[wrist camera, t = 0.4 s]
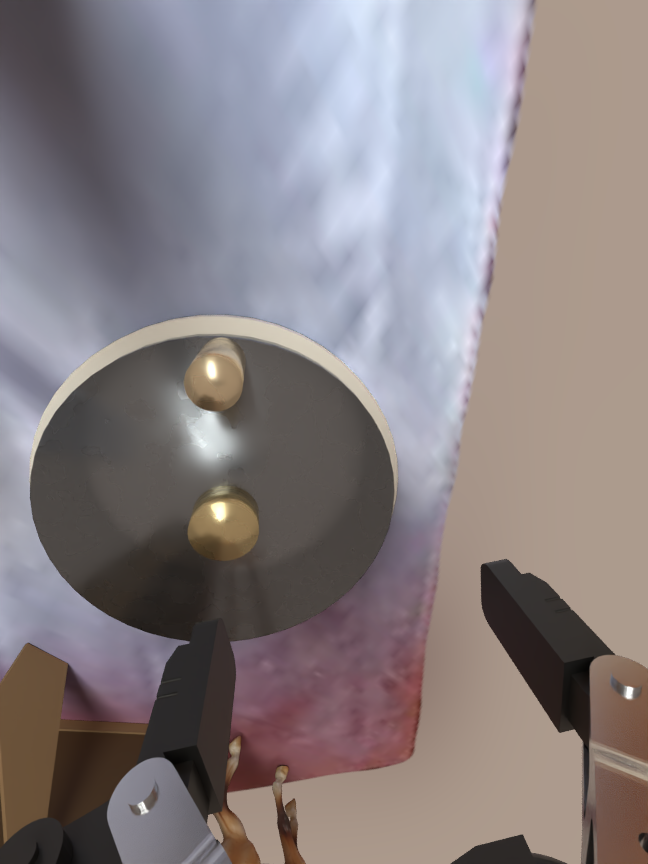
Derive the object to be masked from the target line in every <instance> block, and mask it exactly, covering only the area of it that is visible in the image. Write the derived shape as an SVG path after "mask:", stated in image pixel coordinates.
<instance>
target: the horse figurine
mask: <svg viewBox="0 0 648 864" xmlns="http://www.w3.org/2000/svg"><path fill="white" fill-rule="evenodd" d="M229 750H230V754H231V755H232V756H231V758H229V759H228V761H227V769H226V779H225V789H224V799H223V809H222V812H217V813H213V815H214V816H215V818H216V819H217V821H218V823H219V826H220V829H221V831H222V834H223V837H224V840H223V842H222V843H221V845H222V847H223V848H224V850H225V852H226V853H227V855H228V857H229V859H230V860H231V862H232V864H260V858H259V856H258V854H257V852H256V850H255V847H254V845H253V844H252V843H251V842H250V841H249V840H248V838H247V836H246V833H245V830H244V827H243V825H242V823H241V821H240V820H239V818H238V817H237V816H236V815H235V814H234V813H233V812H232V811H231V810H230V809H229V808H228V805H227V789H228V786H229V783H230V780H231V778H232V776H233V774H234V772H235V770H236V768H237V767H238V762H239V755H240V750H241V736H237V737H236V738H235V739H234V740H233V741H232V742H231V743H230V744H229ZM288 770H289V769H288V767H287V766H279V767H278V768H277V769H276V774H275V778H276V781H275V782H274V783H273V787H272V788H273V793H274V796H275V800H276V807H277V813H278V822H277V824H278V829H279V834H280V839H281V843H282V848H283V852H284V857H285V864H306V863H305V861H304V860H303V858H302V857H301V855H300V853H299V851H298V848H297V830H298V823H297V819H296V802H295V799H293V800H292V801H290V802H289V803H288V804H287V805H286V806H285V810H286V813H285V811H284V807H283V803H282V783H283V781H284V780H285V779H286V776H287V773H288ZM288 817H290V821H289V819H288Z"/></svg>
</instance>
